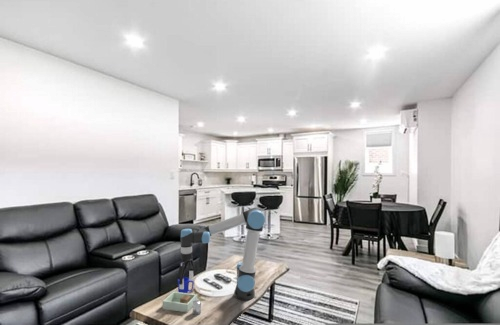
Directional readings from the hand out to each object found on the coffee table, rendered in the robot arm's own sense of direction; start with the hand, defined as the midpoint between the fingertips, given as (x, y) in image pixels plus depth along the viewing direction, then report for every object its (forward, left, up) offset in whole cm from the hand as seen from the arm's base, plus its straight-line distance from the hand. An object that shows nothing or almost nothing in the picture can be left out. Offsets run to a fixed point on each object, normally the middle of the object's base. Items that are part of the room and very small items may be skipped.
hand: (186, 284), depth 175 cm
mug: (+9, -17, -15) cm, 24 cm away
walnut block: (+1, 0, -14) cm, 14 cm away
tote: (+4, 0, -14) cm, 15 cm away
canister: (-11, +6, -14) cm, 19 cm away
